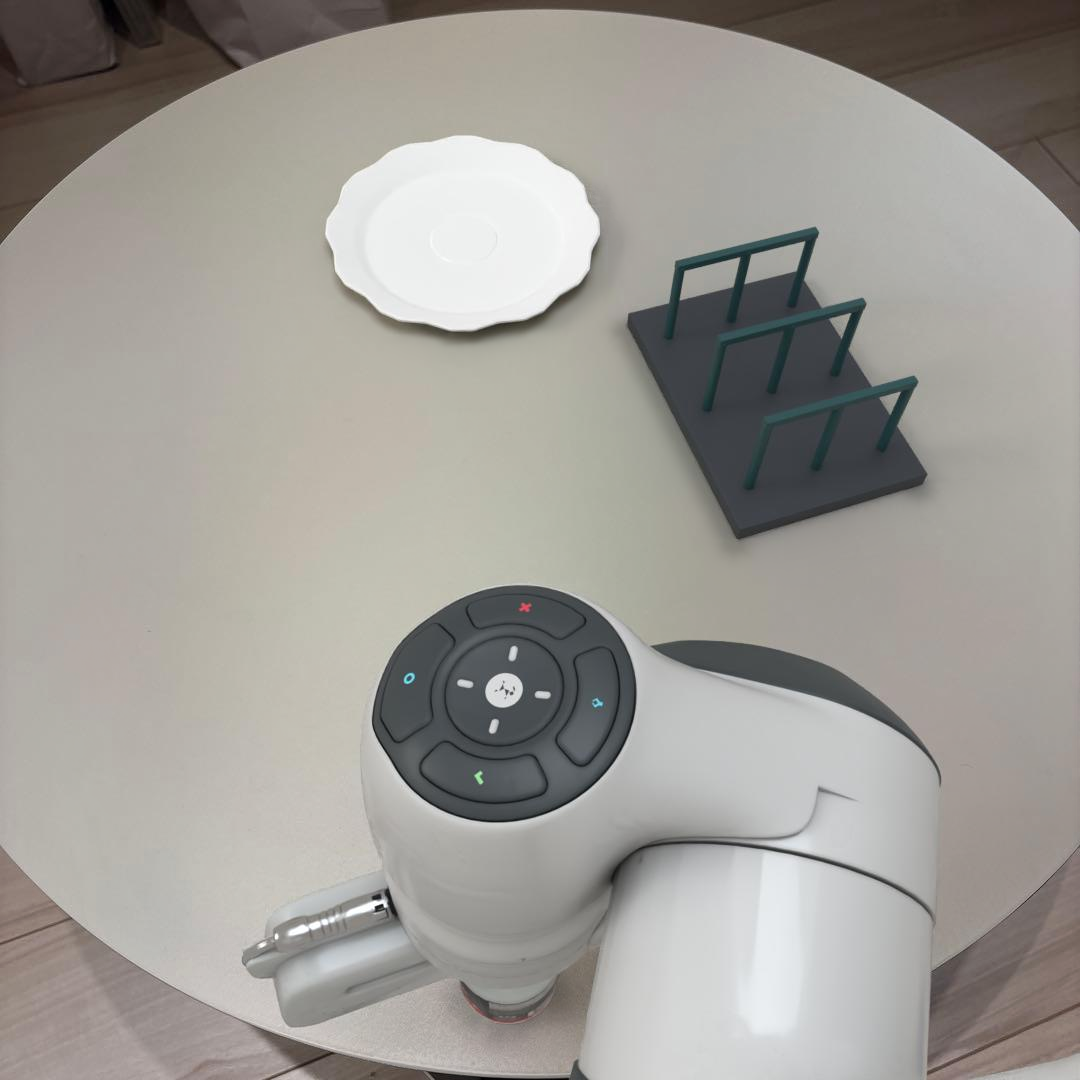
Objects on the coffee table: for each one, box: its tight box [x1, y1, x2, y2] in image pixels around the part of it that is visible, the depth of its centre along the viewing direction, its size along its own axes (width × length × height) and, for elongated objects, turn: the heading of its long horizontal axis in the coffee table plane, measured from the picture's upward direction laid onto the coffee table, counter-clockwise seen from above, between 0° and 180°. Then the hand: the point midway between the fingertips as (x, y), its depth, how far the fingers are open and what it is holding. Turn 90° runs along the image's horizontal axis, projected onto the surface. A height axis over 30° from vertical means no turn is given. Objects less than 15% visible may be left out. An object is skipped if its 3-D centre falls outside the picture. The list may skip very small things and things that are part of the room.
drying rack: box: [626, 226, 928, 539], centre depth 78 cm, size 20×14×8 cm
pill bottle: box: [458, 973, 560, 1025], centre depth 57 cm, size 5×5×10 cm
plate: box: [324, 134, 601, 332], centre depth 89 cm, size 21×21×2 cm
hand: (502, 940), depth 55 cm, fingers open, 8 cm apart
